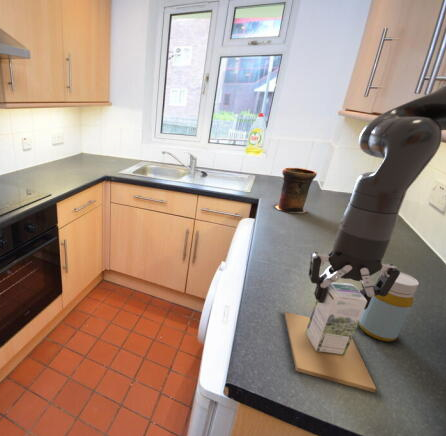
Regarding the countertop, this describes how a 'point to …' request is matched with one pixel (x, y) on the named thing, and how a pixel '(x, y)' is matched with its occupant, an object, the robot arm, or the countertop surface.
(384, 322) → the bottle
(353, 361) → the oak board
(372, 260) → the robot arm
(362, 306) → the syrup box
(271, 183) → the countertop surface
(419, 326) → the countertop surface
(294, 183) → the vessel
